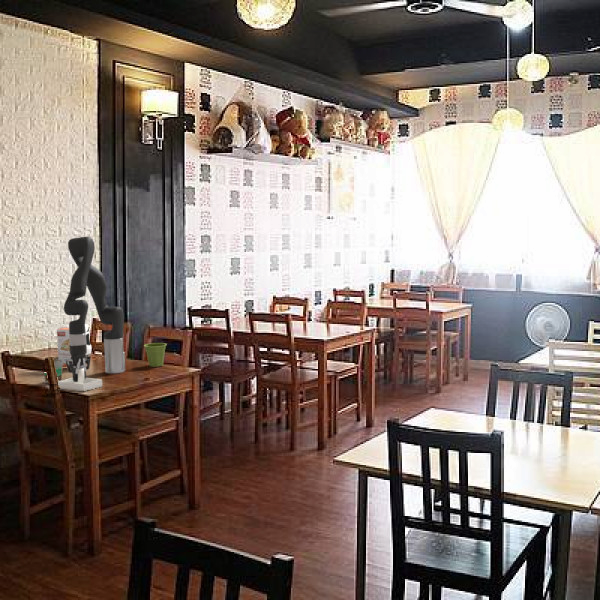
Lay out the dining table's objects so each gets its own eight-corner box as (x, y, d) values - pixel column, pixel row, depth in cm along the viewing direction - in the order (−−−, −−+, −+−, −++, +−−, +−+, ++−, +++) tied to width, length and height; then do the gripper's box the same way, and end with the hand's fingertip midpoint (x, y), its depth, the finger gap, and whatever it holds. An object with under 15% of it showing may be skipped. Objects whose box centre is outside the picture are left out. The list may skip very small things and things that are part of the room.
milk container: (54, 359, 433) (52, 327, 432) (69, 354, 450) (68, 323, 449) (82, 360, 430) (80, 327, 428) (97, 355, 446) (95, 323, 445)
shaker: (79, 381, 358) (78, 364, 357) (86, 382, 356) (85, 365, 355) (72, 383, 354) (71, 366, 353) (79, 384, 352) (79, 367, 351)
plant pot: (141, 365, 411) (140, 344, 409) (162, 363, 416) (162, 342, 415) (148, 368, 400) (148, 347, 399) (170, 366, 406) (169, 345, 405)
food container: (56, 385, 363) (55, 363, 362) (44, 384, 364) (42, 363, 363) (68, 379, 375) (68, 359, 374) (57, 379, 376) (56, 359, 375)
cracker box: (58, 368, 405) (56, 328, 403) (65, 366, 411) (63, 327, 409) (80, 370, 400) (78, 329, 398) (87, 367, 406) (85, 328, 404)
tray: (75, 384, 364) (75, 376, 364) (102, 386, 357) (102, 379, 357) (57, 389, 353) (56, 381, 353) (84, 392, 346) (83, 384, 346)
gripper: (82, 340, 361) (84, 377, 363) (60, 345, 349) (62, 382, 350) (95, 341, 358) (96, 378, 360) (72, 346, 345) (74, 384, 347)
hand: (79, 380), depth 355 cm, fingers closed on shaker, 4 cm apart
